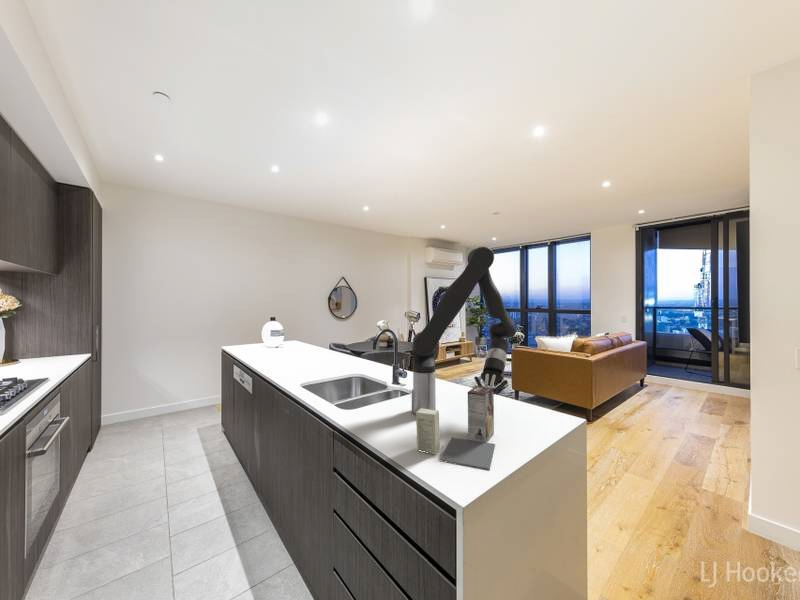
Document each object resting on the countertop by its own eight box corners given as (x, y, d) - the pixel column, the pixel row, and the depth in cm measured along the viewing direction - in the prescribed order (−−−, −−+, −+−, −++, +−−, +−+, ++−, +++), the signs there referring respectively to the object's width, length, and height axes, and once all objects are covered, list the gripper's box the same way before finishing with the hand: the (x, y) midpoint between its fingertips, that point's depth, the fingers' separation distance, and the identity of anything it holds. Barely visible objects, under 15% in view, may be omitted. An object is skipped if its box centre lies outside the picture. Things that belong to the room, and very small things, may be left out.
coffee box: (476, 429, 114) (476, 385, 114) (494, 433, 110) (494, 387, 110) (467, 439, 106) (467, 391, 106) (486, 444, 103) (486, 394, 103)
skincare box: (440, 449, 99) (440, 410, 99) (435, 455, 95) (435, 414, 95) (421, 445, 102) (420, 407, 102) (415, 451, 98) (415, 411, 98)
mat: (439, 460, 92) (439, 459, 92) (451, 438, 107) (451, 437, 107) (489, 470, 87) (489, 468, 87) (495, 445, 102) (495, 443, 102)
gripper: (476, 355, 125) (465, 394, 114) (511, 358, 118) (503, 400, 107) (480, 366, 129) (470, 404, 119) (514, 369, 122) (507, 411, 112)
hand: (486, 402), depth 113 cm, fingers closed
